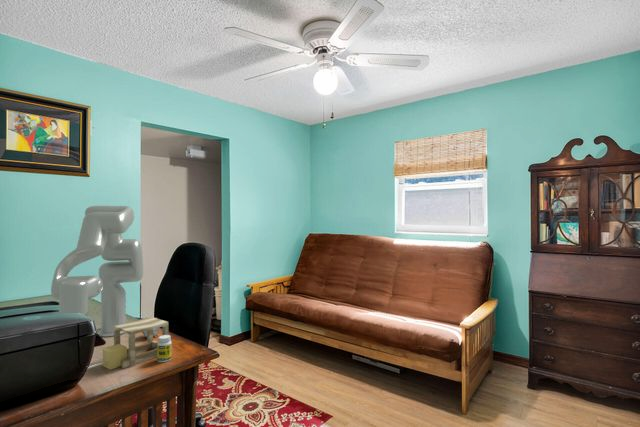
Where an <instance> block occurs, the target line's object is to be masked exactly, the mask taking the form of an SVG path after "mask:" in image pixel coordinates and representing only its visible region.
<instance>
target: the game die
mask: <svg viewBox="0 0 640 427" xmlns="http://www.w3.org/2000/svg"><path fill="white" fill-rule="evenodd" d="M155 318H157V319H158V317H157V316H156V317H155ZM160 328H161V327H158V328H155V329H153V337H157V338H159V336H158V333H159V330H160ZM141 333H142V335H143V336H144V338H143V340H146V339H147V331H144V332H141Z"/></svg>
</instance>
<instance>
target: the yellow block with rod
mask: <svg viewBox="0 0 640 427" xmlns="http://www.w3.org/2000/svg"><path fill="white" fill-rule="evenodd" d="M127 349H128V347H127V346H126V345H123V344H121V343H120V344H116V345H114V344H113V345H109V346H107V347H103V348H102V361H101V362H97V363H95V364H92V365H91V364H90V365H89V367H88V366H87V367H88V369H87V370H90V369H93V368H95V367H99V366H102V367H104V368H106V369H108V370H114V369H116V368H119V367H121V360H124V359H127V358H128V357H127Z"/></svg>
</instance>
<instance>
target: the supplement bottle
mask: <svg viewBox="0 0 640 427" xmlns="http://www.w3.org/2000/svg"><path fill="white" fill-rule="evenodd" d="M157 342H158V344H157V357H156V361H157V362H158V363H166V362H168V361H169V362H170V361H171V360H172V355H173V354H172V349H173V348H172V346H173V345H172V344H173V343H172V340H171V335H170V334H168V335H163V336H162V335H160V336H158V341H157Z"/></svg>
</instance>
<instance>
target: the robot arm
mask: <svg viewBox="0 0 640 427" xmlns="http://www.w3.org/2000/svg"><path fill="white" fill-rule="evenodd" d="M84 215H85V216H84V217H83V219H82V224H81V227H80V232H79V236H78V241H77V246H76V248H74V250H72V251H70V252H69V253H68V254H67V255H65V256H64V257H63V259H61V260H60V262H59V263H58V264H57V266H56V268H55V271H54V274H53V277H52V282H51V284H50V285H51V287H50V294H51V296H52V298H54V299H55V300H58V313H59V312H65V313H79V312H80V313H82V314H84V315H85V316H87V317H88V316H89V299H93V298H96V297H98V296H99V294H100V299H101V300H100V329H98V330H97V331H96V335H97V334H98V335H99V336H98V335H97V336H98V337H114V326H116V325H120V324H124V323H127V322H126V321H127V320H126V319H127V318H126V316H127V315H126V314H127V313H126V312H127V311H126V308H127V306H126V303H127V302H126V300H127V299H126V297H127V296H126V295H127V294H126V293H127V292H126V289H125V288H124V286H123V285H122V283H124V284H125V283H136V282H139V281H141V280H142V279H143V276H144V262H143V261H144V260H143V248H142V244H141V241H140V240H138V239H135V238H123V237H122V234H124V233H125V232H127V230H128V229H129V228H130V227H131V226H132V224H133V223H134V219H135V213H134V209H133V208H132V207H131V206H128V205H92V206H88V207H87V208H86V209H85V211H84ZM99 256H101V259H102V260H104V261H108V262H104V263H103V264H101V265H100V266H99V268H98V276H97V275H75V276H68V275H69V274H70V272H71V271H72V270H73V269H74V268H76V267H77V266H78V265H80V264H82V263H85V262H87V261H89V260H92V259H95V258H97V257H99ZM88 318H89V317H88ZM122 334H125V333H124V332H121V331H120V335H122Z"/></svg>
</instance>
